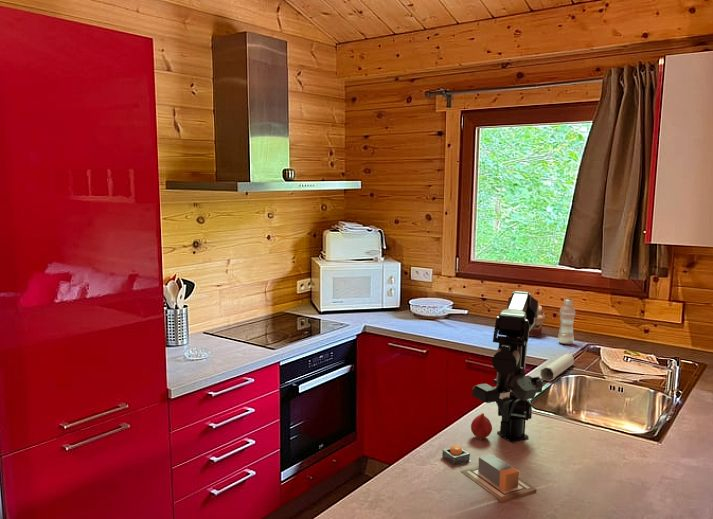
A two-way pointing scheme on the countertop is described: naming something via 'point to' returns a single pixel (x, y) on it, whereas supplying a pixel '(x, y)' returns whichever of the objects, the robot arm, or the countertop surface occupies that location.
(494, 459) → the grey orange block
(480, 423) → the onion
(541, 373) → the tube
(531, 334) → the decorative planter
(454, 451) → the button
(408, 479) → the countertop surface
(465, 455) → the button collar
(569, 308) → the plastic bottle
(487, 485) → the picture frame
